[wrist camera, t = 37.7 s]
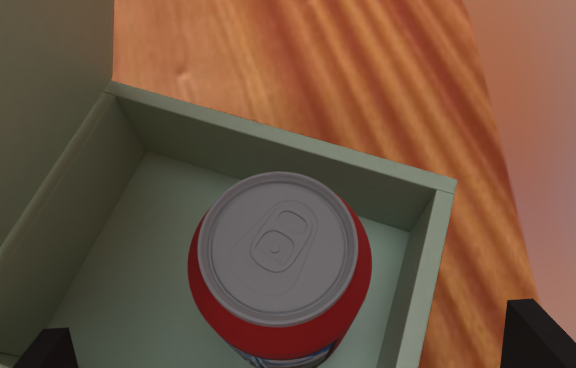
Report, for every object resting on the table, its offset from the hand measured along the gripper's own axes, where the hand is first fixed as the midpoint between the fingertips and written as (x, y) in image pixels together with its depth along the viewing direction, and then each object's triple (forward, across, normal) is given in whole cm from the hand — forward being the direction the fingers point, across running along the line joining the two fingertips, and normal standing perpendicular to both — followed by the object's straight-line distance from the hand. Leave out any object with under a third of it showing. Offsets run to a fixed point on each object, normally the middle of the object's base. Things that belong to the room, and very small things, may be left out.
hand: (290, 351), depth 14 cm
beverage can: (+11, 0, -6) cm, 12 cm away
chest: (+12, -4, -6) cm, 14 cm away
